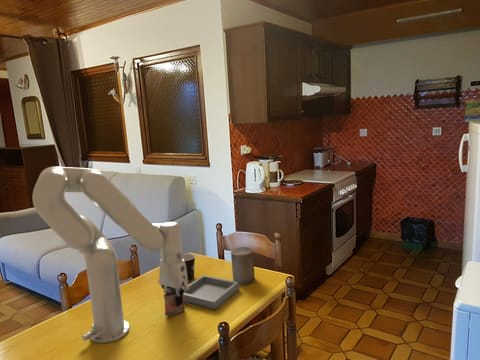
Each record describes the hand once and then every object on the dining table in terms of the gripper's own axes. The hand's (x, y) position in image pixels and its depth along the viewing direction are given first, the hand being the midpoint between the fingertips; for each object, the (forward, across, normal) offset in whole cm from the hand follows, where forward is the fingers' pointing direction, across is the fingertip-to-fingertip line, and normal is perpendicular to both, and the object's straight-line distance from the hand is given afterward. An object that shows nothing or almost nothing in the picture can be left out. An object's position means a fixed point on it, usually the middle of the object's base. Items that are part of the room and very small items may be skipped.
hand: (174, 303), depth 134 cm
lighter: (+4, 0, 0) cm, 4 cm away
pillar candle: (+3, -10, -35) cm, 36 cm away
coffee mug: (+4, +16, -25) cm, 29 cm away
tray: (+4, -4, -17) cm, 17 cm away
